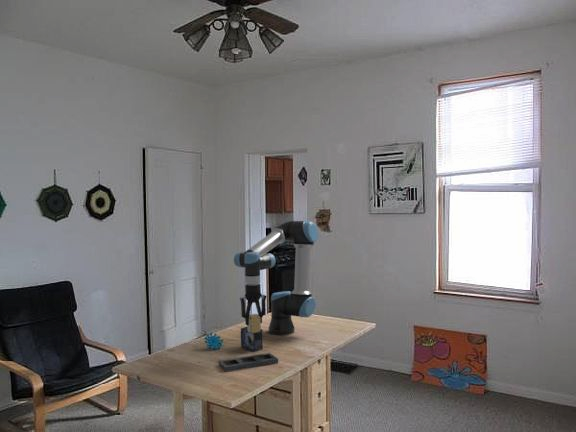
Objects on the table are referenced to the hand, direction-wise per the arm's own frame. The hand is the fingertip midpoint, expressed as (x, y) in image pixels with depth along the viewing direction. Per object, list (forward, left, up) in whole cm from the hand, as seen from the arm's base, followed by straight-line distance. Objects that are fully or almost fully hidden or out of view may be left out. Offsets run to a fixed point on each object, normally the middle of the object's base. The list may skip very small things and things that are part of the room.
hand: (254, 330), depth 242 cm
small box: (-3, -11, -13) cm, 17 cm away
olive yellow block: (0, 0, 0) cm, 0 cm away
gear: (+14, -20, -13) cm, 28 cm away
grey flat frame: (+7, +11, -12) cm, 18 cm away
